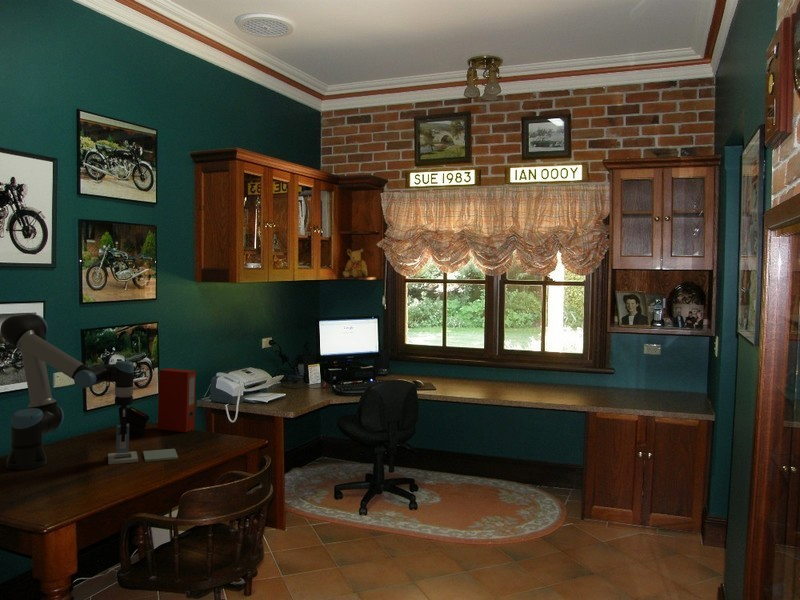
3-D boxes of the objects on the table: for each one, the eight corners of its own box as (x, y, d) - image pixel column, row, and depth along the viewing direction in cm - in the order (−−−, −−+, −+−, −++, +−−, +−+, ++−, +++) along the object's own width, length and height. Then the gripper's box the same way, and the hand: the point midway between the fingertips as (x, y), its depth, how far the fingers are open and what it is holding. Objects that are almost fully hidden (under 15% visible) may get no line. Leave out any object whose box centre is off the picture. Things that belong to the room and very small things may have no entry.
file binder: (166, 426, 351) (168, 368, 350) (194, 429, 347) (196, 370, 345) (157, 429, 343) (158, 370, 342) (185, 432, 339) (187, 372, 337)
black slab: (117, 431, 330) (130, 406, 329) (140, 443, 330) (153, 418, 329) (114, 433, 326) (127, 407, 325) (137, 445, 326) (150, 419, 325)
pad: (145, 461, 288) (145, 459, 288) (143, 453, 300) (143, 451, 300) (178, 459, 294) (178, 456, 294) (174, 450, 306) (174, 448, 306)
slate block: (116, 453, 287) (117, 427, 286) (116, 450, 291) (116, 424, 291) (128, 452, 289) (129, 426, 288) (128, 449, 293) (128, 423, 293)
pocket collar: (108, 464, 282) (108, 461, 282) (108, 456, 293) (108, 453, 293) (137, 461, 287) (137, 458, 287) (136, 454, 298) (136, 451, 298)
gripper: (134, 399, 282) (132, 451, 283) (132, 391, 299) (130, 440, 300) (115, 400, 279) (113, 452, 280) (114, 392, 295) (112, 441, 296)
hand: (122, 446), depth 290 cm, fingers closed on slate block, 5 cm apart
